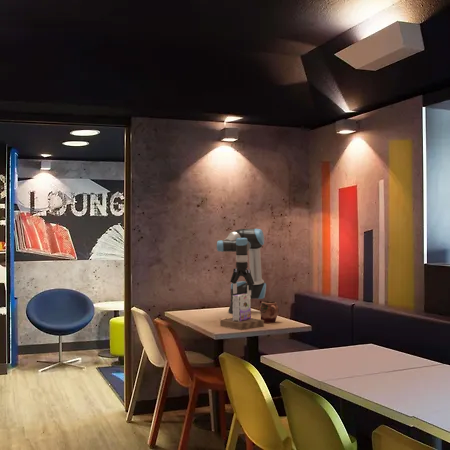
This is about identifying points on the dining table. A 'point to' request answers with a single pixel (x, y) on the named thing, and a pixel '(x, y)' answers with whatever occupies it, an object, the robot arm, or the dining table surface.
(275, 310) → the decorative planter
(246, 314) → the candy box
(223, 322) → the walnut plinth
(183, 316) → the dining table surface
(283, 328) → the dining table surface
